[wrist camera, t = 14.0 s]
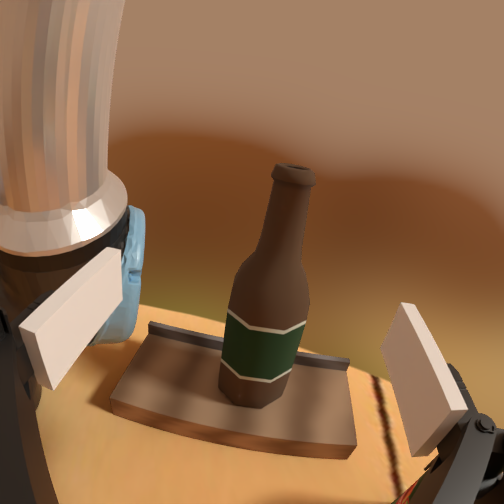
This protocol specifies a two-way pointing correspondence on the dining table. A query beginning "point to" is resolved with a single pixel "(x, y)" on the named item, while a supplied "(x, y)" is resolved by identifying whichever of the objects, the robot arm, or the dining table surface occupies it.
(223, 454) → the dining table surface
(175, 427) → the shelf
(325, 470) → the dining table surface
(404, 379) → the robot arm
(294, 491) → the dining table surface
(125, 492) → the dining table surface
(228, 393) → the beer bottle
